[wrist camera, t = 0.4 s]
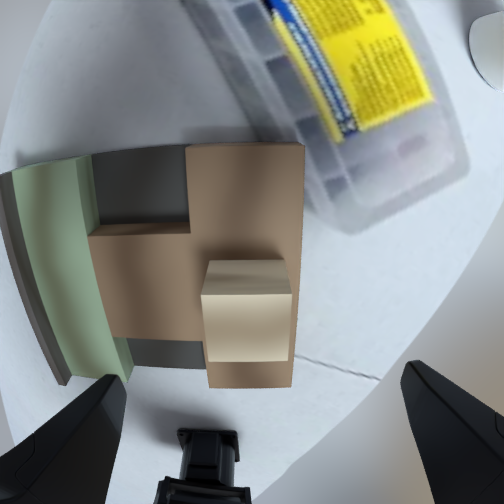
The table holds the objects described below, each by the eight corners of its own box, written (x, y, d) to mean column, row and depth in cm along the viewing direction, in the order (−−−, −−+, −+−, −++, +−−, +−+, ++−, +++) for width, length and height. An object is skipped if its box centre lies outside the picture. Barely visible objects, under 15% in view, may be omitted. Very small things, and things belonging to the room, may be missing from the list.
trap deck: (298, 142, 19) (309, 148, 15) (288, 366, 26) (292, 401, 23) (24, 165, 19) (-9, 177, 15) (75, 356, 26) (58, 384, 23)
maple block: (282, 320, 21) (287, 360, 18) (214, 321, 21) (208, 361, 18) (284, 259, 20) (292, 293, 16) (209, 260, 20) (200, 294, 16)
